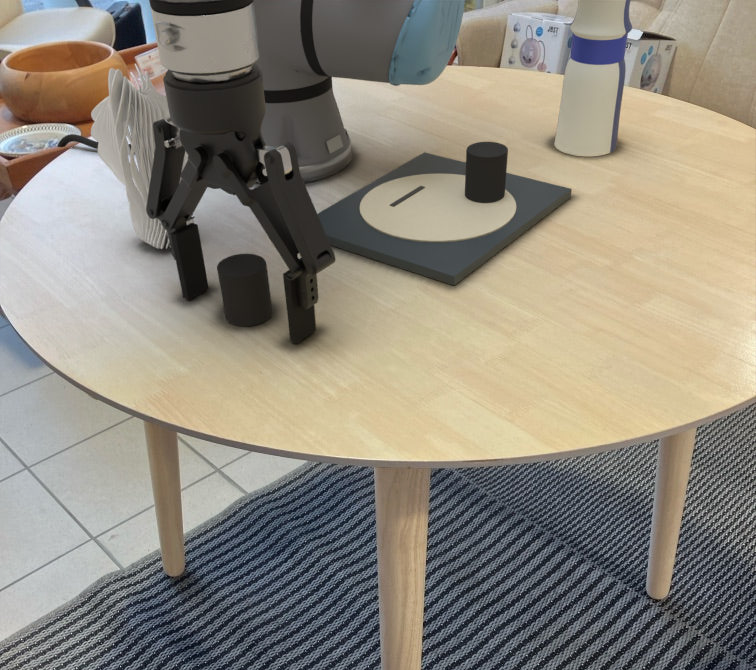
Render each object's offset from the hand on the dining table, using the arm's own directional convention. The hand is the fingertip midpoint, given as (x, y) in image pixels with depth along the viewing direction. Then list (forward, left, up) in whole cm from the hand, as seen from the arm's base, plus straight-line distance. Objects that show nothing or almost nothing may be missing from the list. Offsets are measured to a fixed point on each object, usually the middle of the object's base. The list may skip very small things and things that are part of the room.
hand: (247, 314), depth 79 cm
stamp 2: (+6, +32, +1) cm, 33 cm away
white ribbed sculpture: (-18, +6, 0) cm, 19 cm away
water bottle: (+7, +54, 0) cm, 55 cm away
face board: (+3, +27, 0) cm, 27 cm away
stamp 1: (0, 0, 0) cm, 0 cm away
